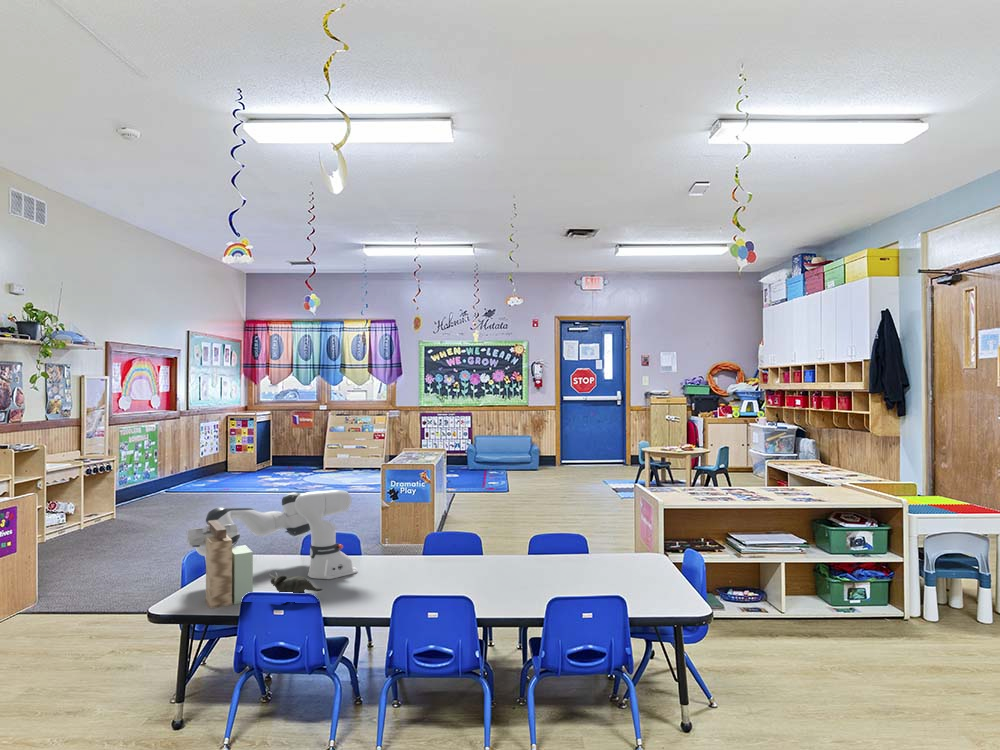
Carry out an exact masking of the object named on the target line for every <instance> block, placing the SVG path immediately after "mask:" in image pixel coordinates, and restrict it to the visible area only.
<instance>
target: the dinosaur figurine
mask: <svg viewBox="0 0 1000 750" xmlns="http://www.w3.org/2000/svg"><path fill="white" fill-rule="evenodd" d="M274 573H275V576H274V575H273V574H272V575H271V573H270V572H269V573H268V575H269V577H271V578H270V583H271V585H272V587H275V588H276V591H278V592H279V593H280V592H293V593H299V594H300V593H306V592H305V591H313V592H320V591H323V588H317V587H315V586H314V585H313V584H312V583H311V582H310V581H309V580H308V579H307V578H306V577H303V576H297V575H296V576H291V577H289V578H288V577H287V576H286V575H281V576H279V575H278V573H277V572H276V571H274Z"/></svg>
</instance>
